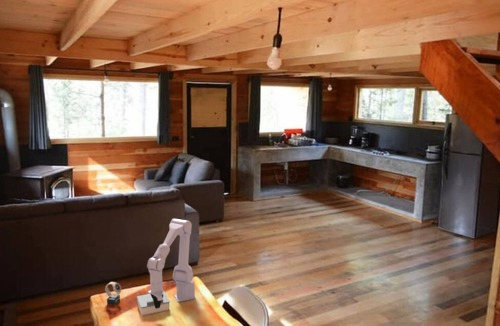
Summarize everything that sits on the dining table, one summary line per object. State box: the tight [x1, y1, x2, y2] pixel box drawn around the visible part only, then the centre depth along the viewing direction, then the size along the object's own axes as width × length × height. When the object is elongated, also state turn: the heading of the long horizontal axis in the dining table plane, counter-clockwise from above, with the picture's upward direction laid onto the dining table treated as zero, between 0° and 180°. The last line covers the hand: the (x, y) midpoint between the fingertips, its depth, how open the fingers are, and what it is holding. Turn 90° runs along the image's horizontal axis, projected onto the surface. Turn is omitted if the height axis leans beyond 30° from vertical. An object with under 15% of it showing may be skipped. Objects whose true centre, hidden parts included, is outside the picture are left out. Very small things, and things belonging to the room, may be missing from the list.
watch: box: [104, 281, 122, 306], centre depth 217 cm, size 6×8×11 cm
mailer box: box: [137, 299, 170, 317], centre depth 212 cm, size 14×12×4 cm
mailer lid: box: [136, 290, 171, 308], centre depth 212 cm, size 14×12×2 cm
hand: (157, 307), depth 202 cm, fingers closed
